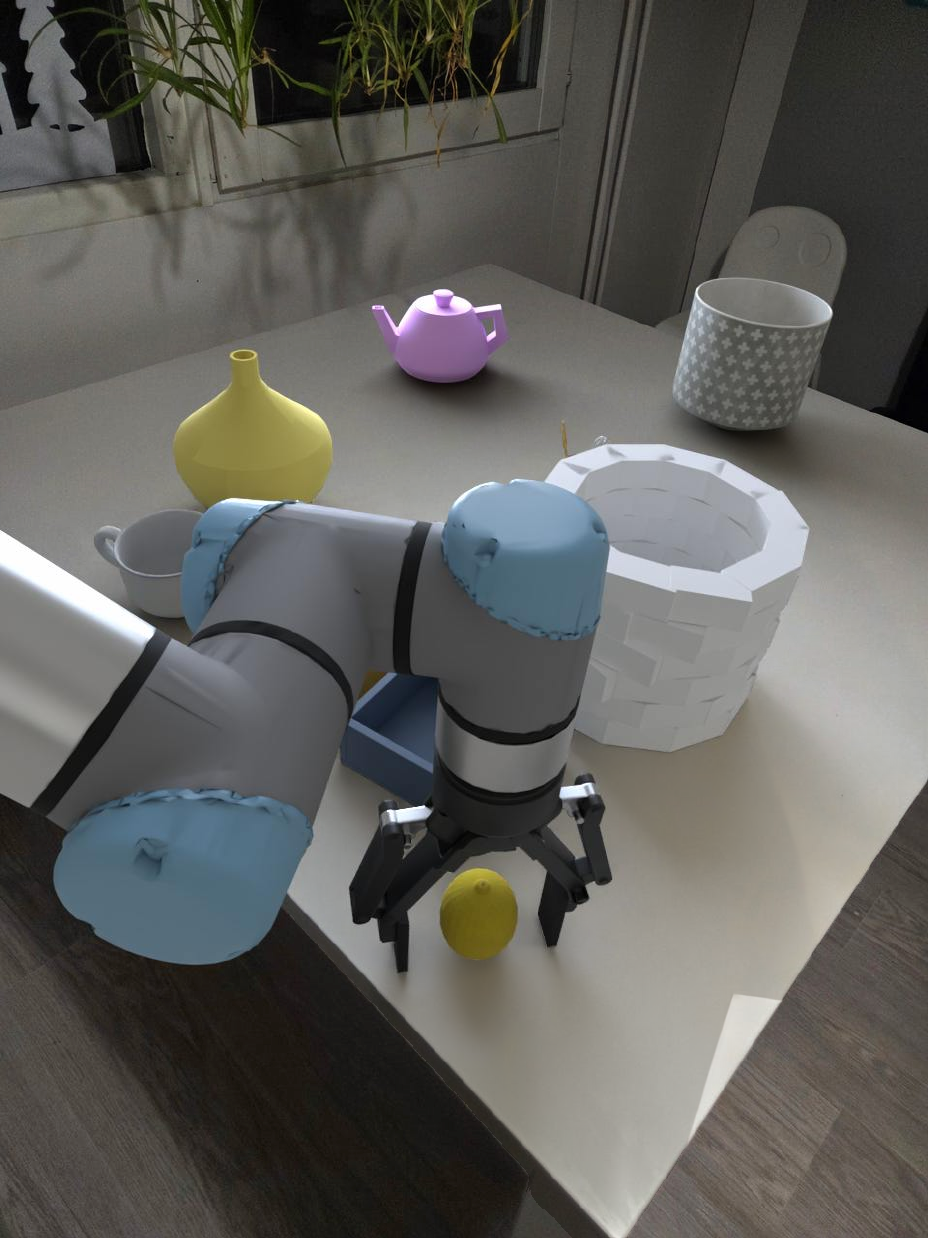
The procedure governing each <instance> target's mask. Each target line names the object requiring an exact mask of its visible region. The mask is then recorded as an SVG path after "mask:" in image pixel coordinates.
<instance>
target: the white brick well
mask: <svg viewBox="0 0 928 1238" xmlns="http://www.w3.org/2000/svg"><path fill="white" fill-rule="evenodd" d="M590 449H591V450H590ZM590 449H589V450H585V451H583V452H579V453H576V454H577V455H574V454H573V455H574V456H571V457H568V458H565V457H564V458H565V459H564V458H562V459H559V460H558V462H557V463H556V465H555V466H554V468H553V469H552V470H551V471H550V473H549V474H548V476H546V477H545V480H544V481H543V482H545V483H549V484H553V485H555V486H558V487H561V488H563V489H566V490H568V491H570V492H572V493H574V494H575V495H577V496H579V497H580V498H581V499H583V500H584V501H585V502H587V503H588V504H589V505H590V506H591V507H592V508H593V509H594V510H595V511H596V512H597V514H598V515H599V516H600V518H601V519H602V521H603V523H604V526H605V528H606V531H607V535H608V540H609V545H610V550H609V557H608V563H607V570H606V576H605V583H604V590H603V596H602V603H601V612H600V616H601V618H600V621H599V624H598V627H597V629H596V633H595V638H594V642H593V646H592V650H591V655H590V659H589V663H588V667H587V671H586V676H585V680H584V684H583V688H582V692H581V697H580V701H579V707H578V712H577V717H576V722H575V726H574V730H576V731H578V732H580V733H582V734H583V735H584V736H587V737H588V738H591V739H592V740H594V741H596V742H598V743H599V744H601V745H608V746H616V747H617V746H618V747H623V748H632V749H640V750H647V751H654V752H655V751H657V752H664V753H673V752H675V751H678V750H681V749H684V748H687V747H690V746H694V745H696V744H700V743H703V742H705V741H708V740H711V739H715V738H717V737H718V738H719V737H720V736H723V735H724V733H725V732H726V730H727V728H728V727H729V726H730V724H731V723H732V721H733V720H734V718H735V717H736V715H738V712H739V711H740V709H741V708H742V707H743V705H744V703H745V702H746V700H747V699H748V697H749V695H750V693H751V690H752V687H753V685H754V683H755V680H756V679H757V676H758V674H757V673H758V668H759V664H760V663H761V661H762V660H763V659H764V657H765V655H766V654H767V652H768V649H769V648H770V647H771V646H772V645H771V644H772V642H773V640H774V637H775V635H776V633H777V630H778V628H779V625H780V622H781V620H780V618H781V613H782V612H783V610H784V609H785V608H786V606H788V604H789V602H790V599H791V597H792V594H793V592H794V590H795V588H796V584H797V583H798V579H799V573H800V570H801V568H802V564H803V559H804V555H805V550H806V546H807V542H808V538H809V537H808V536H809V534H810V531H811V528H810V527H809V525H807V523H806V521H805V520H804V519H803V517H802V516H801V515H800V513H799V512H798V510H797V509H796V507H794V505H793V503H792V502H791V501H790V500H789V498H788V497H787V495H786V494H785V493H784V491H783V490H778V489H777V488H775V487H773V486H772V485H770V484H769V483H766V482H765V481H764V480H763V481H762V480H761V479H759V478H757V477H756V476H754V475H752V474H750V473H749V472H747V471H745V470H743V469H741V468H740V467H738V466H736V465H735V464H732V462H729V461H728V460H727V459H723V458H719V457H715V456H710V455H707V454H703V453H699V452H695V451H691V450H687V449H683V448H680V447H675V446H672V445H668V444H667V443H665V444H663V443H660V444H659V443H656V444H654V443H653V444H651V443H650V444H649V443H648V444H643V443H642V444H641V443H639V444H637V443H636V444H634V443H633V444H629V443H627V444H626V443H624V444H623V443H622V444H617V443H616V444H615V443H613V444H612V443H610V444H608V443H606V444H605V443H604V444H602V445H600V446H596V447H594V448H590Z"/></svg>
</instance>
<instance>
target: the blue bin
mask: <svg viewBox="0 0 928 1238" xmlns="http://www.w3.org/2000/svg"><path fill="white" fill-rule="evenodd" d="M437 701H438V678H436V677H429V676H422V675H415V674H414V675H413V676H411V675H404V674H396V673H388V674H387V675H385V676H384V677H383V678H382V679H381V680H380V681H379V682H378V683H377V684H376V685H375V686H374V687H373V688H371V689H370V690H369V691H368V692H367V693H366V694H365V695H364V696H363V697H362V698H361V699H360V700H359V701H357V702H356V705H355V708H354V711H353V714H352V717H351V719H350V722H349V724H348V727H347V730H346V732H345V734H344V736H343V738H342V741H341V744H340V747H339V760H340V763H342V764H343V765H344V766H346V767H348V768H350V769H351V770H353V771H355V772H357V773H358V774H359V775H361V776H363V777H365V778H366V779H367V780H370V781H372V782H373V783H375V784H376V785H377V786H380V787H381V788H383V789H385V790H386V791H388V792H389V793H391V794H393V795H395V796H397V797H398V798H399V799H402V800H403V801H405V802H407V803H408V804H410V805H411V806H413V807H414V808H415V807H421V806H423V804H424V801H425V800H426V799H427V797H428V796H429V795H430V793H431V791H432V779H433V760H434V745H435V728H436V714H437Z"/></svg>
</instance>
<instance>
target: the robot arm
mask: <svg viewBox="0 0 928 1238" xmlns="http://www.w3.org/2000/svg"><path fill="white" fill-rule="evenodd" d="M609 550H610V545H609V540H608V535H607V531H606V528H605V526H604V523H603V521H602V519H601V518H600V516H599V515H598V514H597V512H596V511H595V510H594V509H593V508H592V507H591V506H590V505H589V504H588V503H587V502H585V501H584V500H583V499H581V498H580V497H579V496H577V495H575V494H574V493H572V492H570V491H568V490H566V489H563V488H561V487H558V486H555V485H553V484H549V483H545V482H544V481H539V480H534V479H525V478H515V479H512V480H511V481H510V482H509V483H504V484H502V483H499V482H496V481H489V482H484V483H481V484H479V485H476V486H474V487H472V488H470V489H469V490H467V491H465V492H464V493H462V494H461V495H460V496H459V497H458V498H457V499H456V500H455V502H454V503H452V506H451V508H450V510H449V512H448V515H447V518H446V521H437V520H434V521H433V522H426V521H420V520H414V519H410V518H409V519H408V518H402V517H397V516H396V517H395V516H389V515H388V516H387V515H382V514H375V513H369V512H363V511H356V510H355V511H354V510H350V509H343V508H337V507H330V506H323V505H316V504H311V503H309V504H307V503H304V502H300V501H291V500H284V501H282V502H278V501H265V500H252V499H239V498H231V499H226V500H223V501H220V502H218V503H216V504H214V505H213V506H212V507H210V508H207V509H206V511H205V512H204V514H203V515H202V517H201V518H200V519H199V521H198V522H197V524H196V526H195V528H194V530H193V534H192V544H191V547H190V550H189V551H187V552H186V553H185V556H184V561H183V568H182V574H181V600H182V608H183V613H184V616H185V617H184V620H185V621H186V624H187V626H188V629H189V630H190V631H191V633H192V634H193V636H192V637H191V639H190V640H189V642H188V643H187V645H186V644H184V643H182V642H180V641H178V640H177V639H174V638H173V637H171V636H170V635H168V634H166V633H165V632H163V631H162V630H161V629H159V628H157V627H155V626H153V625H152V624H151V623H148V622H147V621H146V620H144V619H142V618H141V617H139V616H137V615H136V614H134V613H133V612H131V611H129V610H128V609H126V608H124V607H123V606H121V605H120V604H118V603H117V602H115V601H113V600H112V599H110V598H109V597H108V596H106V595H104V594H102V593H101V592H99V591H97V590H96V589H95V588H92V586H90V585H88V584H87V583H86V582H83V581H82V580H81V579H79V578H77V577H75V576H74V575H73V574H70V573H69V572H67V571H66V570H64V569H63V568H61V567H59V566H58V565H56V564H55V563H53V562H52V561H50V560H49V559H47V558H45V557H44V556H42V555H40V554H39V553H37V552H36V551H35V550H32V549H31V548H29V547H28V546H26V545H24V544H23V543H22V542H20V541H18V540H17V539H15V538H13V537H12V536H10V535H9V534H7V533H5V532H4V531H2V530H1V529H0V794H1V795H3V796H5V797H7V798H9V799H10V800H12V801H14V802H17V803H18V804H20V805H22V806H24V807H26V808H27V809H29V810H30V811H32V812H34V813H36V814H38V815H40V816H42V817H43V818H47V819H48V820H50V821H51V822H53V823H54V824H56V825H57V826H59V828H62V829H63V830H65V831H66V835H65V836H64V838H63V839H62V843H61V846H62V847H61V850H60V852H59V854H58V856H57V858H56V860H55V863H54V867H53V885H54V890H55V892H56V894H57V897H58V899H59V900H60V902H61V904H62V905H63V907H64V908H65V909H66V910H67V912H69V914H71V915H72V916H73V917H74V918H75V919H77V920H80V921H83V922H85V923H88V924H89V925H91V930H92V932H93V933H94V934H95V936H97V937H99V938H100V939H102V940H104V941H106V942H108V943H109V944H112V945H113V946H116V947H118V948H119V949H122V950H125V951H127V952H130V953H132V954H135V955H138V956H141V957H145V958H148V959H151V960H156V961H160V962H166V963H171V964H179V965H192V966H195V965H197V966H199V965H213V964H218V963H223V962H226V961H230V960H233V959H235V958H237V957H239V956H241V955H243V954H244V953H246V952H249V951H251V950H252V949H253V948H255V947H257V946H259V945H260V943H261V941H262V940H263V939H264V938H265V937H266V936H267V934H268V933H269V932H270V931H271V929H272V927H273V925H274V923H275V922H276V918H277V917H278V914H279V912H280V909H281V907H282V905H283V902H284V901H285V897H286V896H287V894H288V891H289V889H290V886H291V884H292V882H293V879H294V877H295V876H296V873H297V870H298V868H299V866H300V864H301V861H302V859H303V857H304V856H305V855H306V853H307V851H308V850H307V849H308V848H309V847H310V846H311V845H312V843H313V840H314V837H315V834H314V825H315V821H316V818H317V816H318V813H319V809H320V807H321V804H322V800H323V797H324V795H325V791H326V789H327V786H328V782H329V780H330V776H331V774H332V771H333V768H334V765H335V762H336V758H337V756H338V752H339V751H340V744H341V741H342V738H343V736H344V734H345V732H346V730H347V727H348V724H349V722H350V719H351V717H352V714H353V711H354V708H355V705H356V702H357V700H358V697H359V694H360V691H361V689H362V686H363V683H364V680H365V678H366V675H367V672H368V670H372V671H380V672H388V673H396V674H404V675H411V676H413V675H414V674H415V675H422V676H429V677H436V678H438V701H437V714H436V728H435V745H434V760H433V779H432V791H431V793H430V795H429V796H428V797H427V799H426V800H425V801H424V804H423V806H421V807H415V806H414V807H409V808H403V809H399V803H398V801H397V800H395V799H386V800H383V801H381V802H380V803H379V804H378V807H377V809H378V822H379V824H378V826H377V828H376V830H375V832H374V834H373V837H372V838H371V840H370V842H369V845H368V846H367V849H366V851H365V852H364V855H363V857H362V859H361V861H360V863H359V865H358V867H357V869H356V871H355V873H354V876H353V877H352V879H351V881H350V883H349V886H348V895H349V903H350V910H351V911H350V912H351V920H352V923H353V924H355V925H357V926H361V925H366V924H368V923H370V922H371V921H372V919H374V920H376V922H377V930H378V931H377V932H378V939H379V942H381V944H387V943H392V946H393V952H394V958H395V965H396V972H397V974H401V973H407V972H409V951H410V920H409V919H410V918H409V913H408V912H409V911H410V909H412V907H413V906H415V905H416V904H417V903H418V902H419V901H420V900H421V899H422V898H423V896H424V895H425V894H427V893H428V892H429V891H430V890H431V889H432V887H434V885H436V884H437V883H438V881H440V879H441V878H442V877H444V875H445V874H446V873H450V874H454V873H456V872H457V871H458V870H459V869H461V867H462V866H463V865H464V864H465V863H466V862H467V861H468V860H469V859H470V858H473V857H481V856H484V855H487V854H491V853H508V852H514V851H517V848H520V849H521V850H522V851H523V852H524V853H525V854H526V856H527V857H529V858H530V860H532V861H534V862H535V861H537V862H538V863H539V864H540V865H541V866H542V867H543V868H544V869H545V870H546V873H545V877H544V881H543V886H542V890H541V896H540V900H539V904H538V909H537V919H538V921H539V924H540V925H539V926H540V928H541V932H542V935H543V938H544V942H545V945H546V948H552V947H557V946H558V944H559V943H558V942H559V938H560V936H561V931H562V928H563V924H564V921H565V917H566V914H567V913H572V912H574V911H575V910H576V909H577V907H578V906H580V905H584V904H586V903H587V902H589V900H590V899H591V897H590V895H589V891H588V890H587V885H589V884H591V883H594V882H595V885H596V886H599V887H602V886H606V885H608V884H611V882H612V881H613V874H612V870H611V866H610V862H609V861H610V860H609V858H608V857H609V856H608V854H607V850H606V846H605V841H604V838H603V833H602V829H601V823H602V821H603V816H604V815H605V812H606V804H605V801H604V799H603V797H602V795H601V792H600V790H599V787H598V784H597V782H596V780H595V778H594V776H593V774H592V773H589V772H584V773H581V774H579V775H578V776H576V778H575V779H574V783H573V785H568V786H563V782H564V777H565V773H566V768H567V762H568V759H569V754H570V750H571V745H572V741H573V735H574V730H575V729H574V726H575V722H576V717H577V712H578V707H579V701H580V697H581V692H582V688H583V684H584V680H585V676H586V671H587V667H588V663H589V659H590V655H591V650H592V646H593V642H594V638H595V633H596V629H597V627H598V624H599V621H600V618H601V616H600V612H601V603H602V596H603V590H604V583H605V576H606V570H607V563H608V557H609ZM562 810H564V811H566V813H567V816H568V817H569V818H574V821H575V823H576V827H577V831H578V835H579V838H580V841H581V845H582V848H583V852H584V855H583V856H580V857H578V858H577V857H576V855H575V854H574V853H573V852H572V851H571V850H570V849H569V848H568V847H567V845H566V844H565V843H564V842H563V841H562V839H560V838H559V836H557V834H556V833H555V832H554V831H553V830H552V829H551V827H549V826H548V825H549V824H550V823H552V822H553V821H554V820H555V819H556V818H557V817H558V816H559V815H560V814H561V812H562ZM425 829H426V833H425V834H424V836H423V837H422V838H421V839H420V840H419V841H418V842H417V843H416V844H415V845H414V846H413V840H414V839H415V838H416V836H417V834H418V833H419V832H420V831H421V830H425ZM412 847H413V848H412ZM410 849H411V850H410ZM405 850H410V851H409V852H407V854H406V855H405Z"/></svg>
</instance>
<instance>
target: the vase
mask: <svg viewBox="0 0 928 1238" xmlns="http://www.w3.org/2000/svg"><path fill="white" fill-rule="evenodd" d="M229 360H230V367H231V375H232V376H231V382H230V383H229V385H228V386H227V388H225V390H223V391H222V392H220V393H219V394H217V396H216V397H214V398H213V399H211V400H210V401H209V402H208V403H206V404H205V405H203V406H202V407H200V408H199V409H197V410H196V411H194V412H193V413H192V414H190V415H189V416H188V417H187V418H186V419H184V420H183V421H182V422H180V424H179V427H177V430H176V432H175V436H174V440H173V445H172V446H173V447H172V448H173V450H172V451H173V458H174V463H175V468H176V471H177V473H178V475H179V476H180V478H181V480H182V481H183V483H184V484H185V486H186V487H187V488H188V490H189V491H190V493H191V494H192V495H193V497H194V498H195V499H196V500H197V501H198V502H199V503H200V504H202V505H203V506H205V508H207V509H209V508H210V507H212V506H213V505H214V504H216V503H218V502H220V501H223V500H226V499H231V498H239V499H252V500H265V501H278V502H282V501H284V500H291V501H300V502H304V503H307V504H311V502H312V501H313V500H314V499H315V498H316V497H317V495H319V493H320V492H321V490H322V489H323V487H324V484H325V482H326V480H327V478H328V474H329V473H330V470H331V468H332V463H333V459H334V450H333V448H334V445H333V439H332V436H331V433H330V430H329V428H328V426H327V424H326V422H325V420H323V419H322V418H321V416H320V415H319V414H317V413H316V412H314V411H313V410H312V409H311V410H310V409H309V408H308V407H306V406H304V405H302V404H300V403H298V402H296V401H294V400H292V399H290V398H288V397H286V396H285V395H283V394H281V393H280V392H278V391H276V390H274V389H273V388H271V387H269V386H268V385H267V384H266V383H265V382H264V381H263V380H262V378H261V375H260V367H259V358H258V353H257V352H256V351H254V350H252V349H236V350H234V351H231V352H230V354H229Z"/></svg>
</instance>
